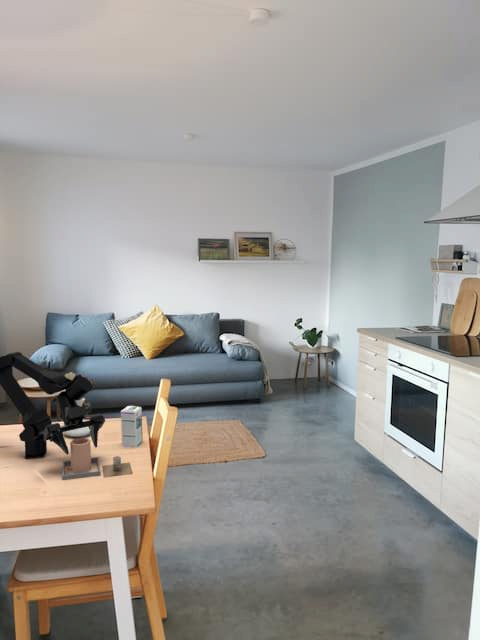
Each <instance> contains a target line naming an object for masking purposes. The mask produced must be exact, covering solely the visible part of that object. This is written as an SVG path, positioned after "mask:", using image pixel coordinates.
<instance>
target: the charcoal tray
mask: <svg viewBox="0 0 480 640" xmlns="http://www.w3.org/2000/svg"><path fill="white" fill-rule="evenodd" d="M91 463H97V469H98V470H94V471H89V472H86V473H77V474H74V473H71V474H65V466H71V459H70V460H63V461H62V470H61V471H62V472H61V475H62V477H61V481H66V480H73V479H74V480H76V479H82V478H91V477H99V476H100V477H101V475H102V474H101V473H102V472H101V471H102V470H101V465H100V457H98V456H97V457H91Z"/></svg>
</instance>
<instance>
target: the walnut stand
mask: <svg viewBox="0 0 480 640" xmlns="http://www.w3.org/2000/svg"><path fill="white" fill-rule="evenodd" d="M112 461H113V463H112V464H105V465H102V466H101V468H102V477H103V478H111V477H112V478H113V477H120V476H127V475H133V473H134V472H133V469H132V465H131V462H122V458H121V456H120V455H119V456H113V458H112Z"/></svg>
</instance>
